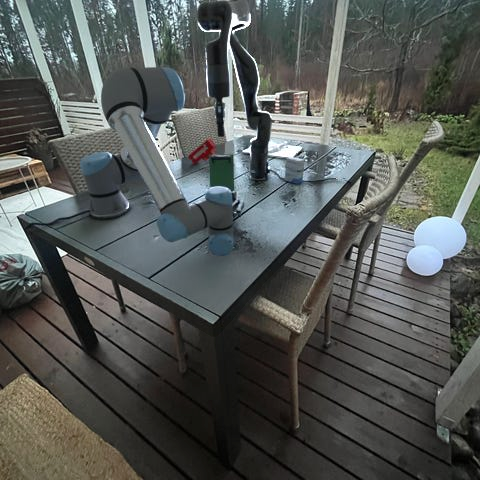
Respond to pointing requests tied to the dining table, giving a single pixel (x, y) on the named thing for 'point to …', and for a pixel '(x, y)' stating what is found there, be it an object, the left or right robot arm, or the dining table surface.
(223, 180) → the lid
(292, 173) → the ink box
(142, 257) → the dining table surface
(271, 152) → the relief map
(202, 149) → the toy gun
